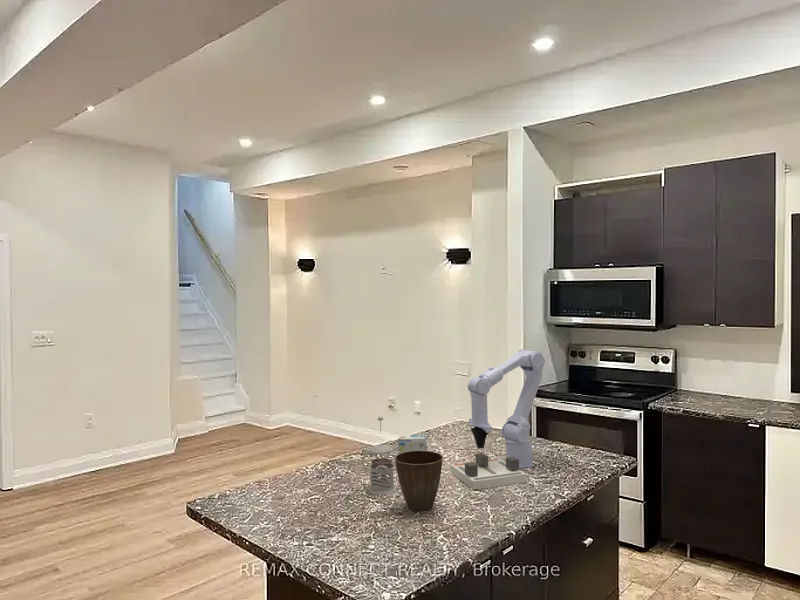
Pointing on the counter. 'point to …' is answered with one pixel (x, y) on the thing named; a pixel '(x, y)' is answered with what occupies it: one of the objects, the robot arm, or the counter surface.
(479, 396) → the robot arm
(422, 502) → the plant pot
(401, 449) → the light bulb box
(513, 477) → the breaker panel
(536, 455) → the counter surface
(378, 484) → the french press
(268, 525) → the counter surface
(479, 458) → the block
